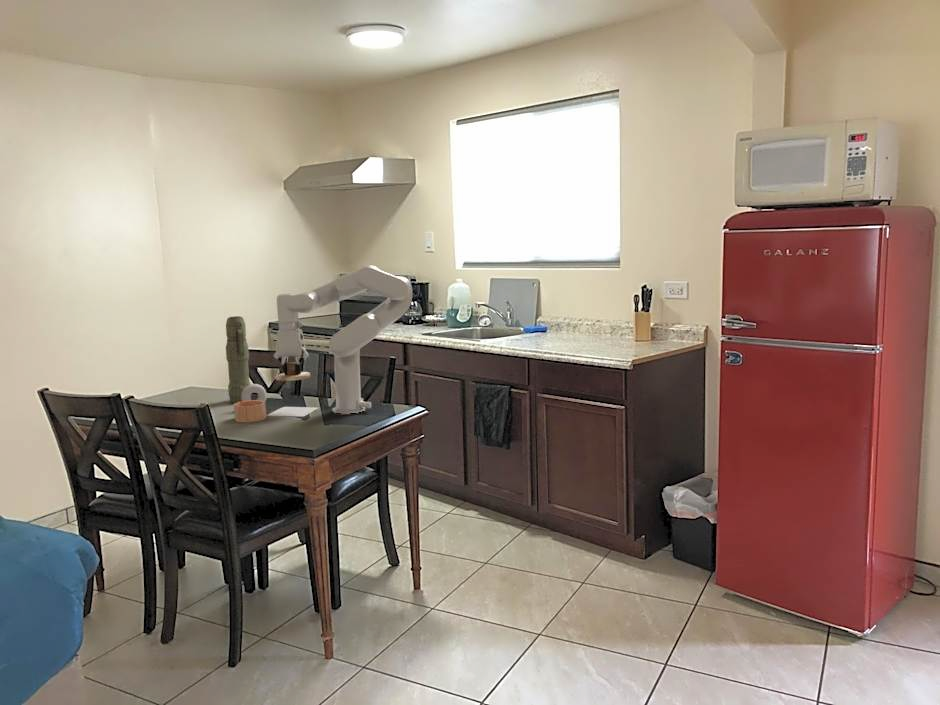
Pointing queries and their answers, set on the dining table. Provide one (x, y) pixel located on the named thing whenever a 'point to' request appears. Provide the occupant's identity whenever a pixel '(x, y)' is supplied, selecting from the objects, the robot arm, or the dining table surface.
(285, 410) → the mat
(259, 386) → the donut
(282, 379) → the lid
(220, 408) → the dining table surface
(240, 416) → the bowl
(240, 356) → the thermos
